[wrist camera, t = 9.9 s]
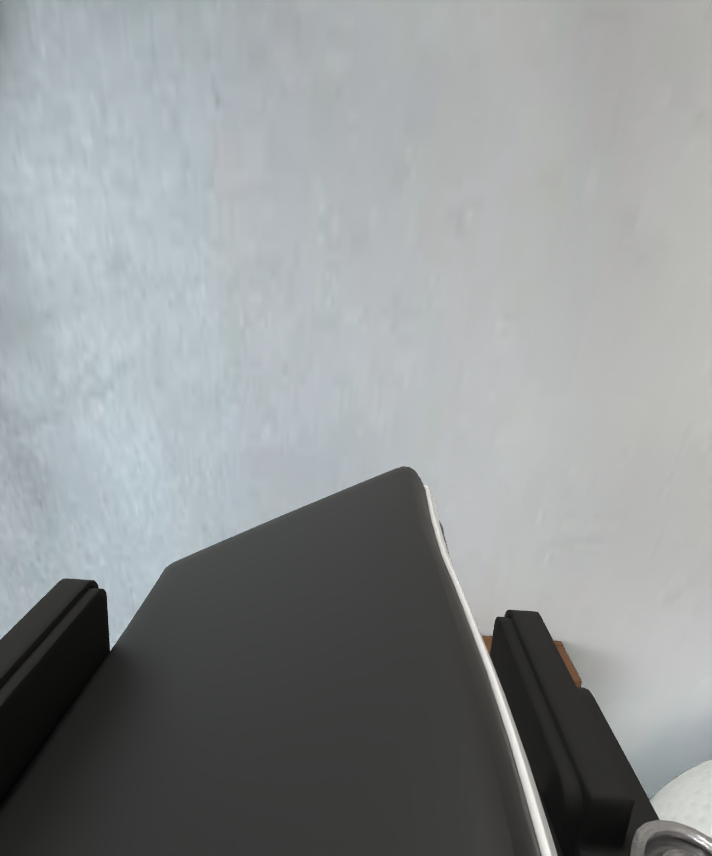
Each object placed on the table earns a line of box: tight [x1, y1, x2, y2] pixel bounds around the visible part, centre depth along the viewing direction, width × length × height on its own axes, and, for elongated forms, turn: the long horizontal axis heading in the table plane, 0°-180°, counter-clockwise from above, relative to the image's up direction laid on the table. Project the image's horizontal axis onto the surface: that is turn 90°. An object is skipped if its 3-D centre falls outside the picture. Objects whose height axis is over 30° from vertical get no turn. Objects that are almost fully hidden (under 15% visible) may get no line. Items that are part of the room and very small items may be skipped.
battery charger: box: [0, 466, 563, 856], centre depth 8 cm, size 7×4×11 cm, turn 115°
